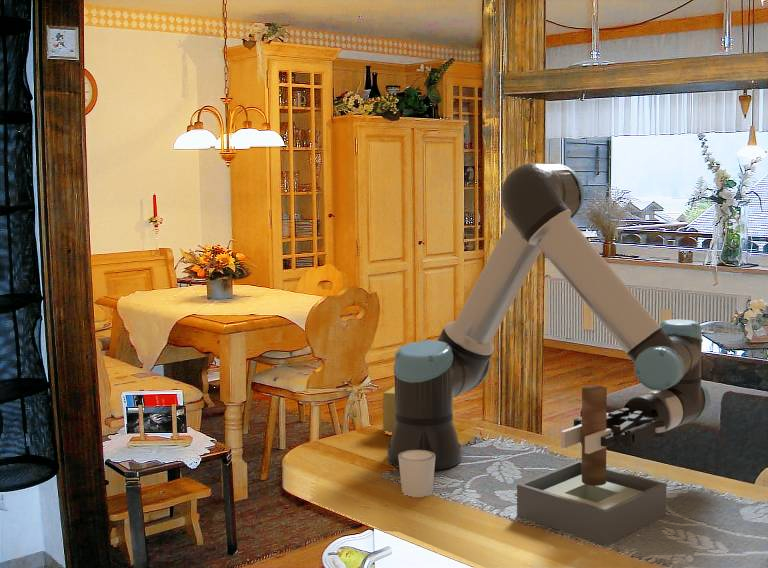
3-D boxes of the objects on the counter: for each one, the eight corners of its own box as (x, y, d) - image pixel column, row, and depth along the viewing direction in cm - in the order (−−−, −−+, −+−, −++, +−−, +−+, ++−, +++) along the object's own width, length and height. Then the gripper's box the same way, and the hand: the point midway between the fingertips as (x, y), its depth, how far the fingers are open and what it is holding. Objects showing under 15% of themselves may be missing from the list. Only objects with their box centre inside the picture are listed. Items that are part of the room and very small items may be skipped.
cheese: (441, 427, 204) (441, 384, 203) (424, 440, 195) (423, 396, 193) (399, 423, 208) (399, 381, 207) (380, 435, 199) (379, 391, 198)
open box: (516, 515, 151) (516, 484, 151) (578, 489, 163) (578, 460, 162) (606, 546, 138) (606, 512, 138) (665, 515, 150) (666, 483, 150)
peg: (576, 481, 150) (577, 388, 148) (590, 476, 153) (591, 384, 151) (597, 487, 147) (597, 392, 145) (610, 481, 150) (611, 388, 148)
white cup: (433, 499, 160) (432, 461, 159) (395, 497, 161) (394, 459, 160) (438, 486, 166) (438, 449, 165) (402, 484, 168) (401, 448, 167)
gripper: (695, 443, 155) (620, 476, 139) (610, 425, 168) (532, 453, 152) (696, 401, 154) (620, 430, 139) (611, 386, 167) (532, 410, 151)
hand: (574, 442), depth 145 cm, fingers closed on peg, 4 cm apart
